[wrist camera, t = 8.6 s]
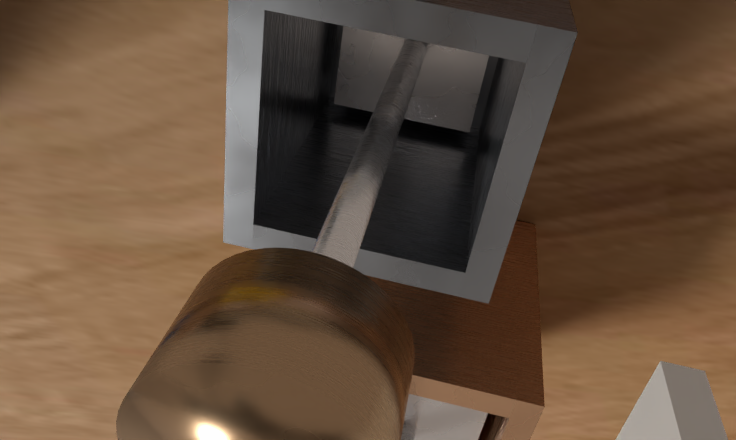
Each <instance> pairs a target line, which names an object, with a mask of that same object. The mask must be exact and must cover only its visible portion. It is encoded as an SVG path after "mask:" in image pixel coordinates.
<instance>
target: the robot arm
mask: <svg viewBox="0 0 736 440" xmlns="http://www.w3.org/2000/svg"><path fill="white" fill-rule="evenodd" d="M616 440H728V438H727V435H726V432H725V430H724V427H723V424H722V421H721V418H720V415H719V412H718V409H717V406H716V403H715V400H714V397H713V394H712V391H711V388H710V385H709V382H708V379H707V376H706V373H705V371H702V370H698V369H694V368H689V367H685V366H680V365H676V364H672V363H667V362H663V361H660V363H659V364H658V366H657V368H656V370H655V371H654V373H653V375H652V377H651V378H650V380H649V382H648V384H647V385H646V387H645V389H644V391H643V392H642V394H641V396H640V398H639V399H638V401H637V403H636V405H635V406H634V408H633V410H632V412H631V414H630V415H629V417H628V419H627V421H626V422H625V424H624V426H623V428H622V429H621V431H620V433H619V435H618V436H617V438H616Z"/></svg>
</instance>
